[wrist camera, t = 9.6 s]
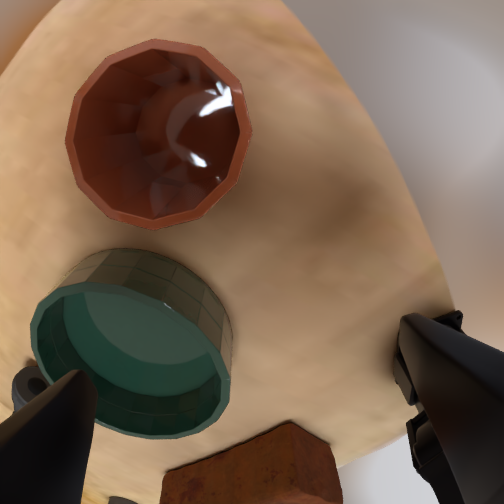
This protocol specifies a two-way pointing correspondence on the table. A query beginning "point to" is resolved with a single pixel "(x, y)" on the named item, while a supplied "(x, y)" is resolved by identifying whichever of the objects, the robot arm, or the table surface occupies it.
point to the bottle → (119, 501)
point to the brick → (260, 473)
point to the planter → (139, 342)
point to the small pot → (158, 134)
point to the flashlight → (27, 386)
